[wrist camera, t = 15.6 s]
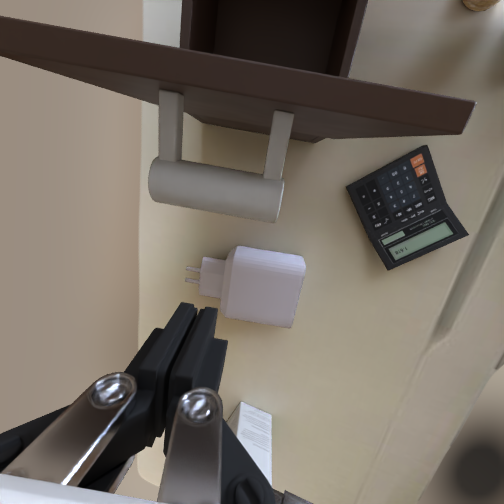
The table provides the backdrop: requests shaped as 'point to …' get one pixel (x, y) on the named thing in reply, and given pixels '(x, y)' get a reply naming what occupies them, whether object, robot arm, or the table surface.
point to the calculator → (405, 209)
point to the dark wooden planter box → (275, 38)
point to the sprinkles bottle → (479, 4)
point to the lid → (229, 107)
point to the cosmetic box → (254, 435)
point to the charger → (254, 284)
